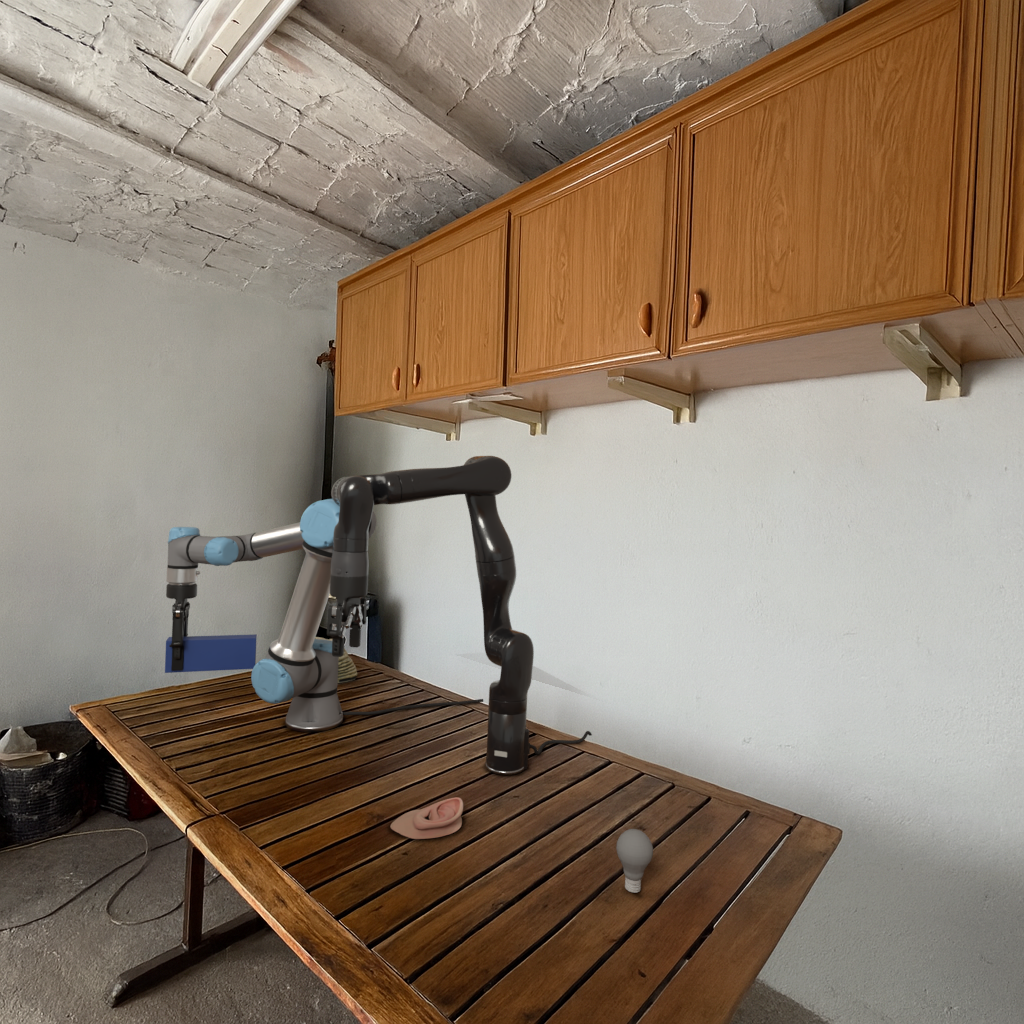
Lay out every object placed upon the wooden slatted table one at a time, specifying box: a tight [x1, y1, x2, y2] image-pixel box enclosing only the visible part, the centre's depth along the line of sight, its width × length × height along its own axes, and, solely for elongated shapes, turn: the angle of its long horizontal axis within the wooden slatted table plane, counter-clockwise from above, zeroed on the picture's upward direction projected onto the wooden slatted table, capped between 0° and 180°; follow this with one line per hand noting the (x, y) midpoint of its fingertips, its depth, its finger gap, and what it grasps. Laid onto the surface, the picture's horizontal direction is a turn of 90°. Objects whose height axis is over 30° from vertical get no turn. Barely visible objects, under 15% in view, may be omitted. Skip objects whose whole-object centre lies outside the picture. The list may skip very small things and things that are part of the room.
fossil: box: [315, 636, 359, 684], centre depth 215 cm, size 9×18×15 cm, turn 132°
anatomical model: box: [390, 797, 464, 840], centre depth 124 cm, size 13×4×12 cm
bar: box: [164, 634, 258, 674], centre depth 177 cm, size 23×5×9 cm, turn 111°
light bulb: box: [615, 828, 654, 894], centre depth 106 cm, size 6×6×10 cm
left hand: (178, 667), depth 174 cm, fingers closed on bar, 5 cm apart
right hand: (346, 651), depth 130 cm, fingers open, 8 cm apart
